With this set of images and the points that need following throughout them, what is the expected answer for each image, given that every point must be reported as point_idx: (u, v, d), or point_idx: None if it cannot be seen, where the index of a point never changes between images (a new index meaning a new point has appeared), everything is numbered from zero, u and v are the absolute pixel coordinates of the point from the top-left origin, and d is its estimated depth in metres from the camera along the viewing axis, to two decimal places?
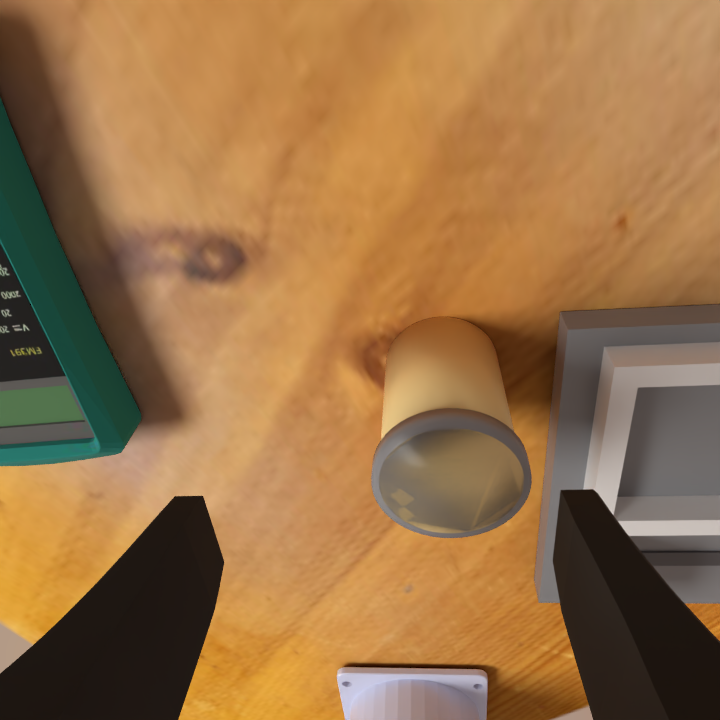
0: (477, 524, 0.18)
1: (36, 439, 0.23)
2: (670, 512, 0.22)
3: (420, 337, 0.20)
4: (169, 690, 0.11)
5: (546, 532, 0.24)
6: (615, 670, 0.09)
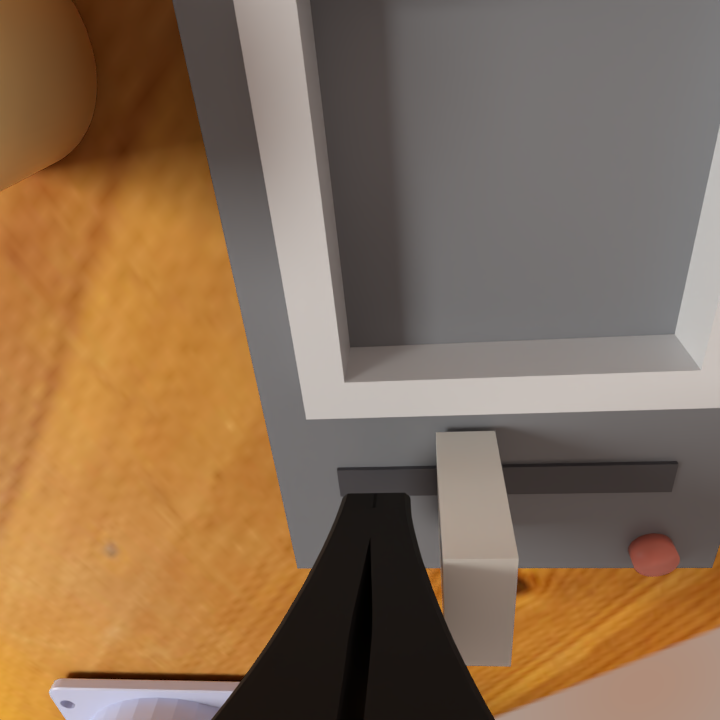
0: None
1: None
2: (466, 366, 0.11)
3: None
4: None
5: (268, 429, 0.13)
6: None
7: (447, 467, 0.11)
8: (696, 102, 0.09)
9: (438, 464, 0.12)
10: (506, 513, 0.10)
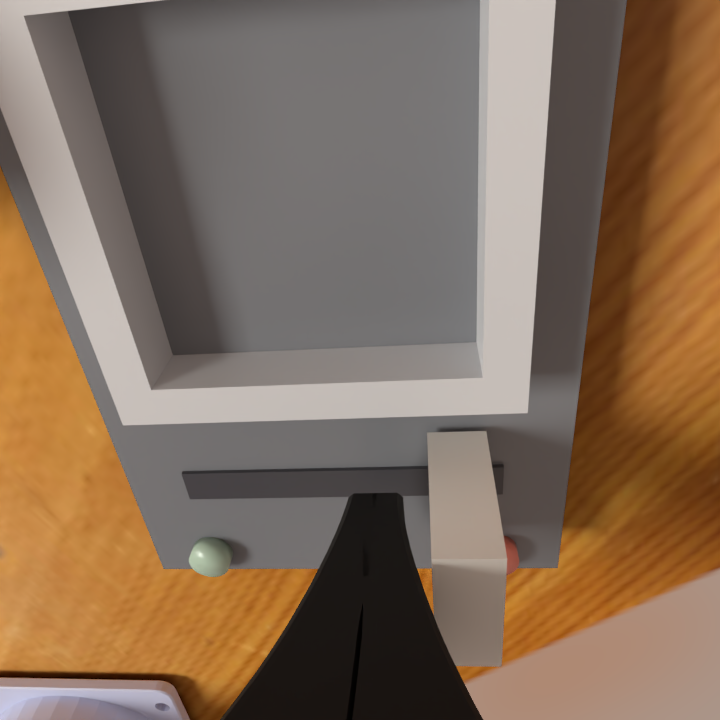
0: None
1: None
2: (270, 374, 0.11)
3: None
4: None
5: (111, 434, 0.13)
6: None
7: (438, 467, 0.11)
8: (451, 121, 0.09)
9: (429, 464, 0.12)
10: (495, 513, 0.10)
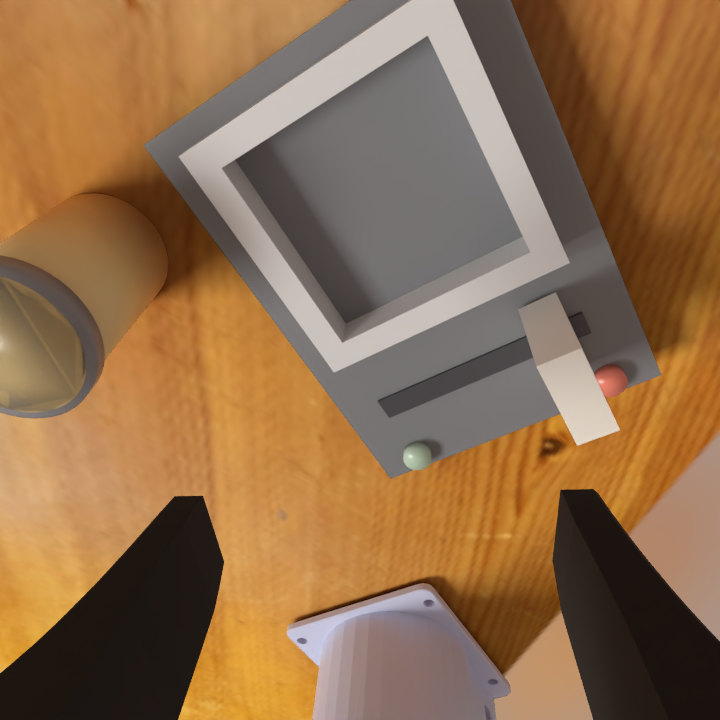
0: (73, 383, 0.15)
1: None
2: (405, 306, 0.18)
3: None
4: (169, 690, 0.11)
5: (327, 391, 0.21)
6: (615, 670, 0.09)
7: (529, 323, 0.17)
8: (447, 115, 0.16)
9: (523, 324, 0.18)
10: (570, 330, 0.16)
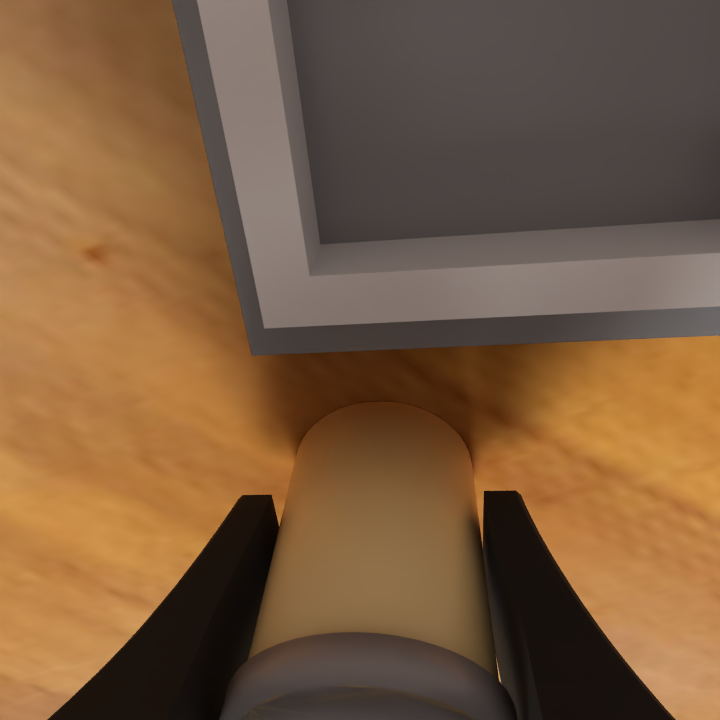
0: None
1: None
2: None
3: None
4: None
5: None
6: (517, 668, 0.09)
7: None
8: None
9: None
10: None
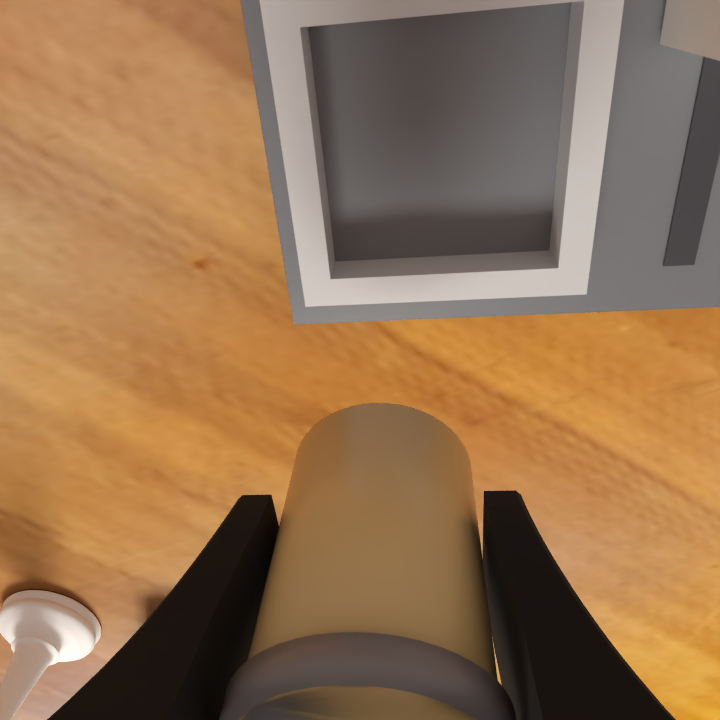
0: None
1: None
2: (563, 180, 0.15)
3: None
4: None
5: (613, 310, 0.18)
6: (517, 668, 0.09)
7: (678, 39, 0.13)
8: (394, 35, 0.14)
9: (676, 47, 0.13)
10: None
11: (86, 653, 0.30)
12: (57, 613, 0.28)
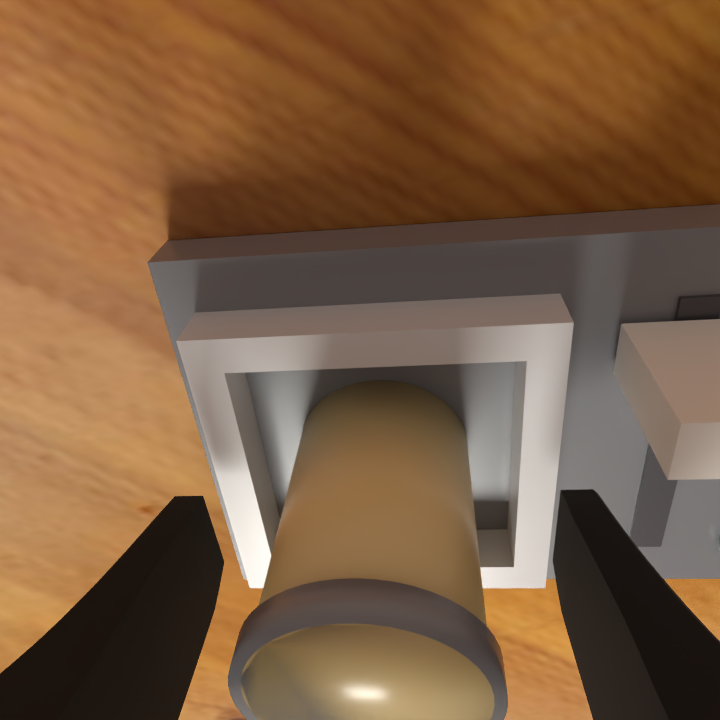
0: (469, 677, 0.09)
1: None
2: (516, 491, 0.14)
3: None
4: (169, 690, 0.11)
5: None
6: (615, 670, 0.09)
7: (630, 395, 0.12)
8: None
9: (628, 398, 0.12)
10: (659, 391, 0.10)
11: None
12: None
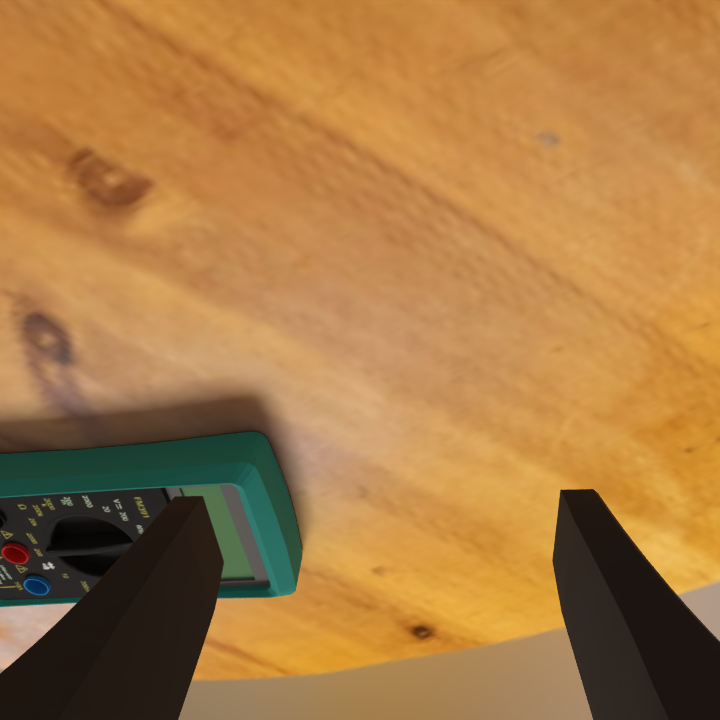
0: None
1: (250, 526, 0.24)
2: None
3: None
4: (169, 690, 0.11)
5: None
6: (615, 670, 0.09)
7: None
8: None
9: None
10: None
11: None
12: None
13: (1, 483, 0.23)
